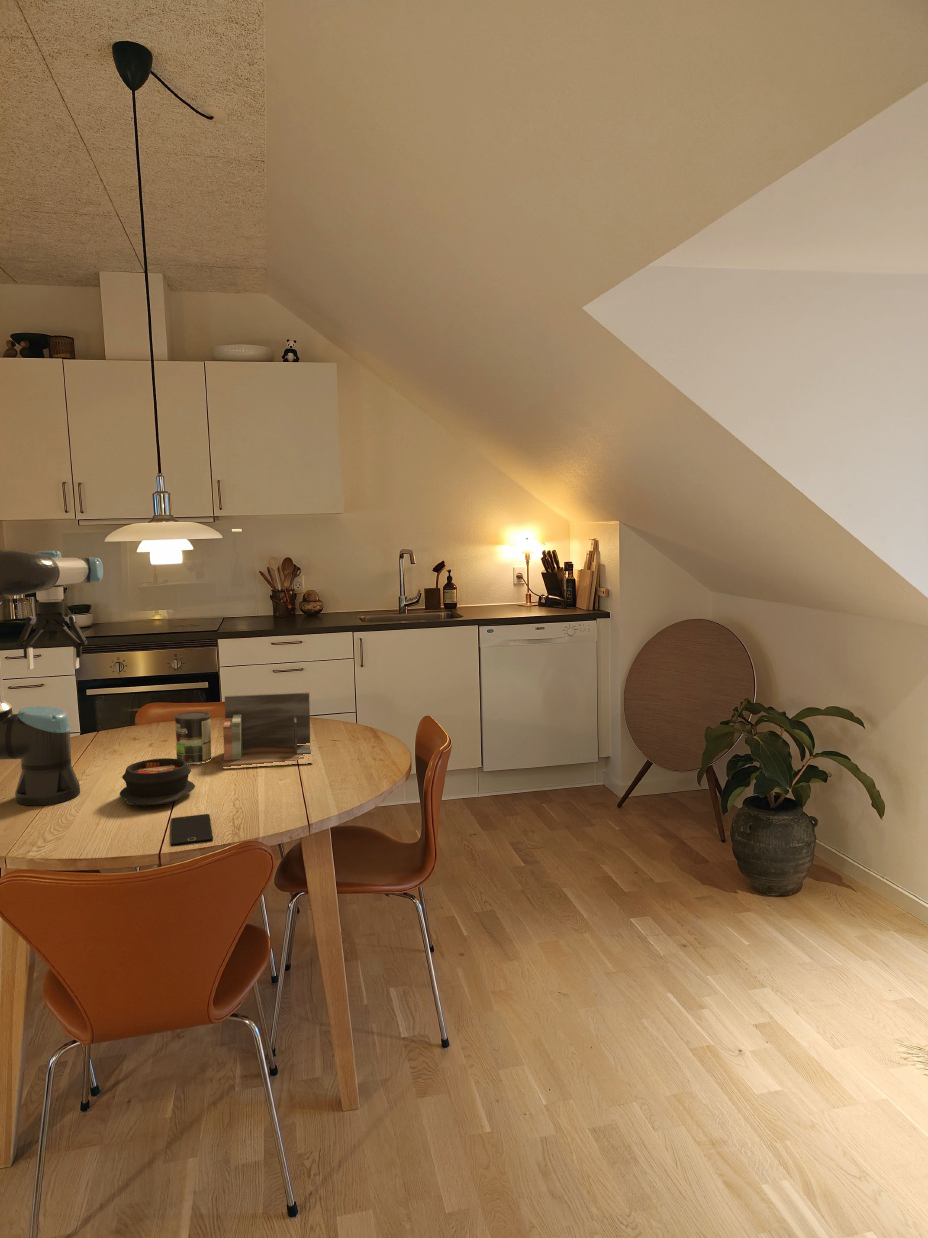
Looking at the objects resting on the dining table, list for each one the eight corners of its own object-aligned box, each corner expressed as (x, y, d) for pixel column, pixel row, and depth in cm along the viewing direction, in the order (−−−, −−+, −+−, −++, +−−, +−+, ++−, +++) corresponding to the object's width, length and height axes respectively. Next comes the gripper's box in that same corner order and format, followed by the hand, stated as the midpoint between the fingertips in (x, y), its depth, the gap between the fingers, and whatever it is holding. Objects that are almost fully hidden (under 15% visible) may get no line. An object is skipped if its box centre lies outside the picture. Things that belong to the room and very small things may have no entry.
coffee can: (187, 767, 244) (185, 720, 242) (170, 760, 251) (168, 715, 249) (218, 760, 251) (217, 714, 250) (201, 754, 258) (199, 710, 257)
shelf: (312, 764, 247) (311, 704, 245) (222, 769, 241) (220, 709, 239) (310, 747, 266) (309, 692, 264) (226, 752, 261) (224, 695, 259)
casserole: (128, 785, 227) (126, 755, 226) (198, 780, 231) (197, 751, 230) (111, 815, 202) (109, 781, 201) (190, 809, 207) (189, 776, 206)
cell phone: (171, 848, 182) (170, 844, 182) (171, 821, 199) (171, 817, 199) (212, 842, 185) (212, 838, 185) (209, 817, 202) (209, 813, 202)
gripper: (96, 599, 260) (99, 666, 262) (13, 600, 257) (16, 667, 259) (88, 601, 253) (91, 669, 255) (2, 602, 250) (6, 671, 252)
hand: (53, 668), depth 257 cm, fingers open, 13 cm apart
